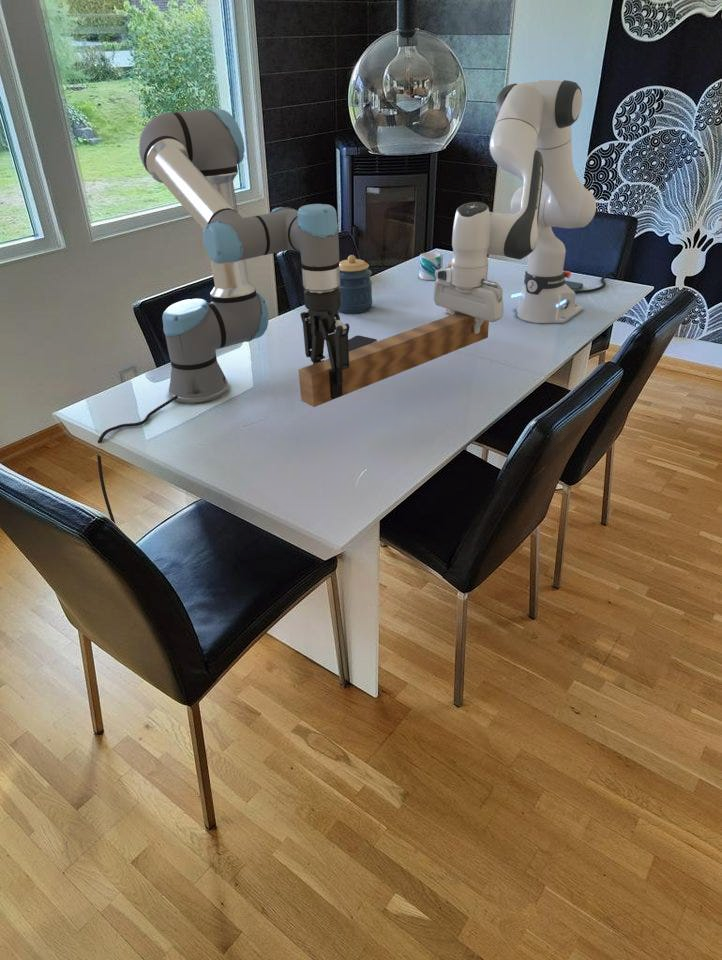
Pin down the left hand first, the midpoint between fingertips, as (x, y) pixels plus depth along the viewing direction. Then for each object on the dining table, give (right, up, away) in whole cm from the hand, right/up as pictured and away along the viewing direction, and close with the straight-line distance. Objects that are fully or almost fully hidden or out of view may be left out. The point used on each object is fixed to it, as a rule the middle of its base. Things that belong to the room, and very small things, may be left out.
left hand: (329, 392), depth 148 cm
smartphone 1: (+5, +19, +51) cm, 55 cm away
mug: (+35, +60, +112) cm, 131 cm away
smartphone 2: (+79, +50, +94) cm, 133 cm away
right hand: (+34, +19, +23) cm, 45 cm away
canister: (+5, +40, +83) cm, 92 cm away
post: (+17, +8, +12) cm, 23 cm away
